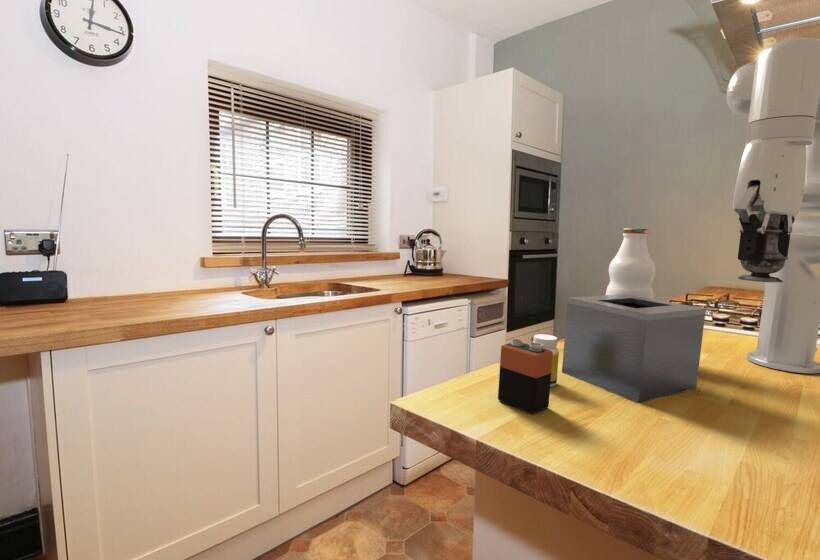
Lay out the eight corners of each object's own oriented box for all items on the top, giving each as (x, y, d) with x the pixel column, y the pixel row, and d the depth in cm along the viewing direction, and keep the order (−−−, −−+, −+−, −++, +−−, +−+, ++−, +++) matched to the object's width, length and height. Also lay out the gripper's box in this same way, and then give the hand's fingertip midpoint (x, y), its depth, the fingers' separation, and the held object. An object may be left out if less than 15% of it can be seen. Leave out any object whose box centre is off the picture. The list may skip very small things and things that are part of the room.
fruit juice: (618, 362, 92) (632, 228, 89) (591, 350, 101) (602, 227, 98) (657, 361, 94) (671, 229, 91) (626, 349, 104) (638, 228, 100)
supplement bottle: (557, 381, 80) (561, 335, 79) (554, 389, 76) (558, 341, 74) (530, 376, 82) (534, 332, 81) (526, 384, 78) (529, 337, 76)
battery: (533, 415, 65) (538, 349, 63) (496, 400, 70) (500, 339, 69) (549, 408, 68) (554, 344, 66) (512, 394, 73) (517, 335, 71)
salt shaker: (794, 283, 63) (806, 198, 61) (748, 281, 64) (758, 197, 63) (770, 278, 69) (781, 200, 67) (728, 276, 70) (737, 199, 68)
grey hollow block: (617, 362, 92) (623, 294, 91) (696, 388, 78) (705, 308, 77) (561, 372, 85) (567, 297, 83) (638, 402, 71) (647, 314, 69)
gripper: (777, 145, 71) (762, 257, 73) (717, 132, 63) (702, 259, 65) (838, 138, 64) (820, 261, 67) (780, 123, 56) (761, 264, 59)
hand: (762, 259), depth 66 cm, fingers closed on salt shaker, 5 cm apart
